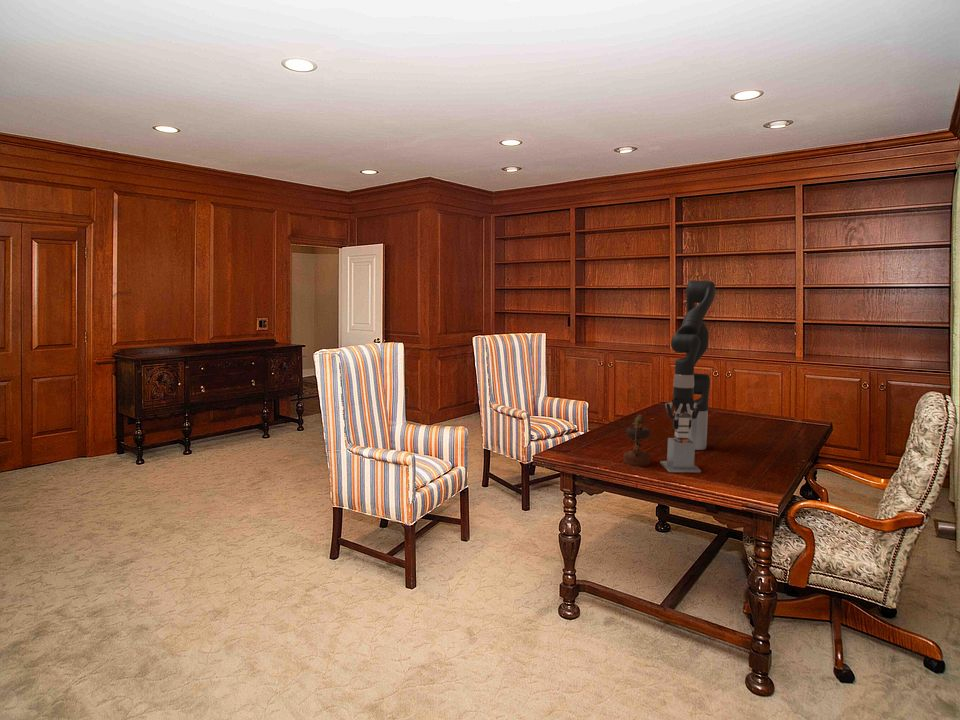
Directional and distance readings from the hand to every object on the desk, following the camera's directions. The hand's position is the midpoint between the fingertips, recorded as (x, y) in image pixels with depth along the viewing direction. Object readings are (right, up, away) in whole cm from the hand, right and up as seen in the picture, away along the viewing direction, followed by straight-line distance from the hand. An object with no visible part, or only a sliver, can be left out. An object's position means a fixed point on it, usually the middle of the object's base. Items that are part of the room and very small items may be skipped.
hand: (681, 428), depth 232 cm
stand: (0, -16, +2) cm, 16 cm away
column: (0, -13, +1) cm, 13 cm away
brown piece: (-15, -15, +10) cm, 23 cm away
